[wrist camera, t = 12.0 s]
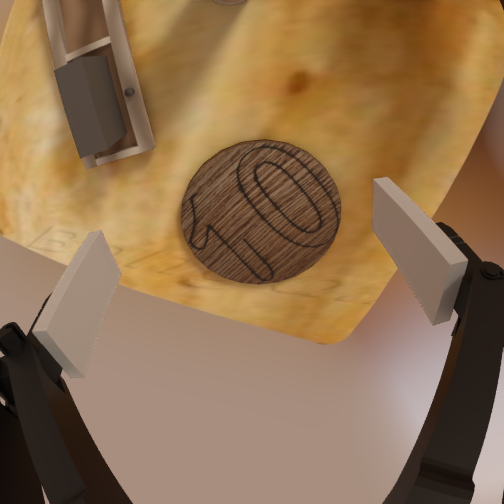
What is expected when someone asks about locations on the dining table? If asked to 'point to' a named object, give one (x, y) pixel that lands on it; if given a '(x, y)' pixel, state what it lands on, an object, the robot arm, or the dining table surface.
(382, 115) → the dining table surface
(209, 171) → the trivet
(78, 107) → the picture frame
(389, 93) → the dining table surface
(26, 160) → the dining table surface
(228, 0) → the coffee cup
